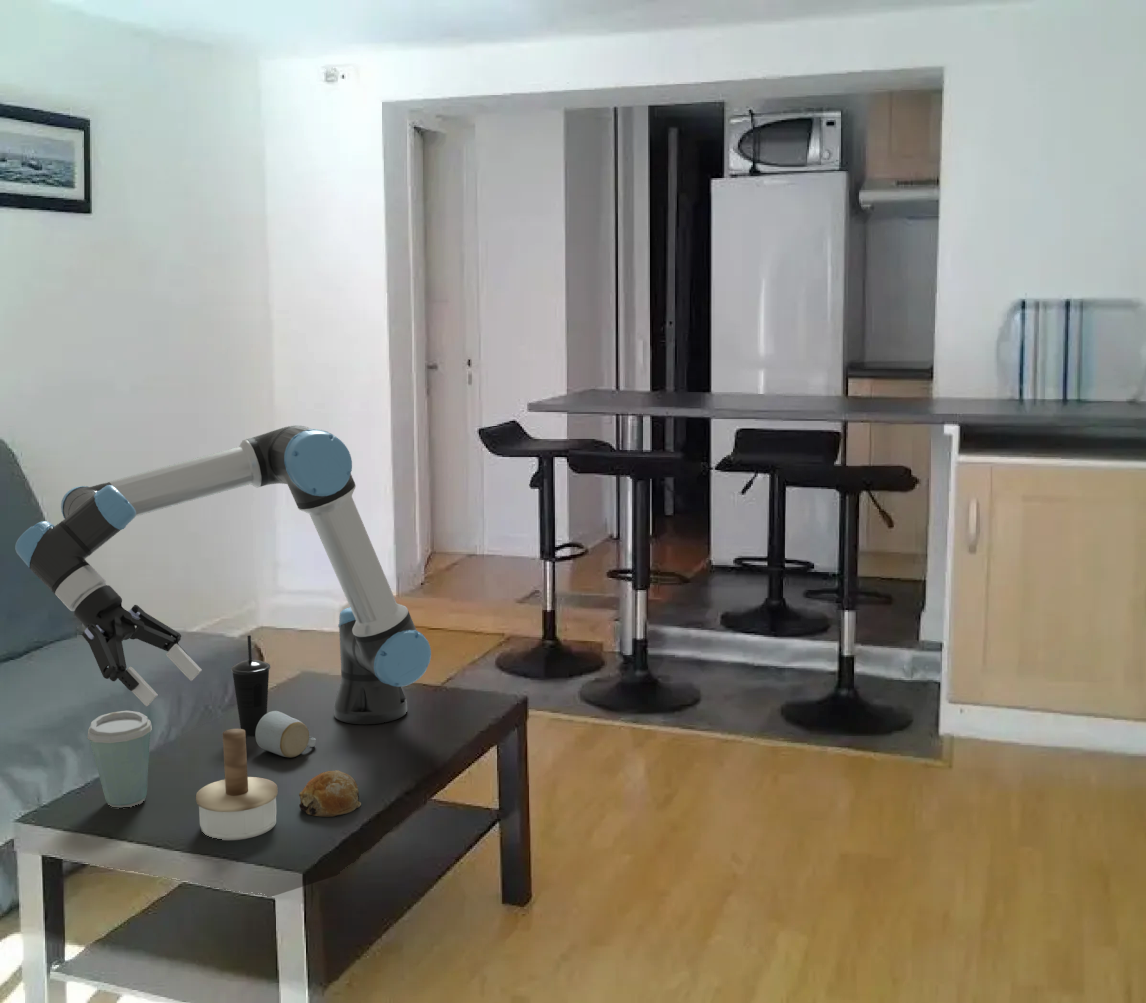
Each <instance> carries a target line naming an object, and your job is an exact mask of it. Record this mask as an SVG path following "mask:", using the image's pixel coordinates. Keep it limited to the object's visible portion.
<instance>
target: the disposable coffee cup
mask: <svg viewBox="0 0 1146 1003" xmlns="http://www.w3.org/2000/svg"><path fill="white" fill-rule="evenodd" d="M152 727H153V726H152V722H151V720H150V719H149V717H148V716H146V715H145V714H143V713H142V712H139V711H134V710H133V711H132V710H121V711H120V710H119V711H114V712H108V713H105V714H101V715H99V716H98V717H96V718H94V719H93V720H92V721H91V722H90V726H89V728H88V732H87V738H86V739H88V740H89V743H90V746H91V750H92V751H91V752H92V755H93V758H94V762H95V765H96V770H97V773H98V777H99V781H100V784H101V787H102V792H103V795H104V799H105V803H107V806H108V805H110V806H112V807H130V808H133V807H132V806H134V807H136V806H135V805H137V806H139V805H141V804H142V803H144V802H145V801H146V797H147V793H148V792H147V791H148V776H149V775H148V774H149V760H150V746H151V745H150V742H151V732H152V729H153V728H152ZM143 801H144V802H143ZM138 804H139V805H138ZM110 806H109V807H110ZM112 807H111V808H112Z"/></svg>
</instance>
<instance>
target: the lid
mask: <svg viewBox="0 0 1146 1003" xmlns="http://www.w3.org/2000/svg"><path fill="white" fill-rule="evenodd" d="M246 737H247V736H246V735H245V730H243V729H241V728H230V729H226V730H223V732H222V744H223V745H222V746H223V747H222V748H223V767H224V779H220V780H217V781H214V782H211V783H208V784H206V785H205V786H203V787H201V788H200V789H199V790H198V791H197V792H196V795H195V802H196V804H197V806H198V807H199V806H200V807H202V808H204V809H207V810H210V811H217V812H235V811H244V810H249V809H253V808H257V807H260V806H263V805H265V804H267V803H269V802H271V801H272V800H273V799H274V798H276V799H277V796H278V794H279V793H278V792H279V791H278V790H279V789H278V785H277V783H276V782H274V781H272V780H271V779H268V778H262V777H258V776H257V777H256V776H248V760H247V759H248V757H247V744H246V743H247V738H246Z"/></svg>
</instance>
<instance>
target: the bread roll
mask: <svg viewBox="0 0 1146 1003" xmlns="http://www.w3.org/2000/svg"><path fill="white" fill-rule="evenodd" d="M359 792H360V791H359V787H358V784H357V782H356V780H355V779H354V777H352V775H350V774H348V773H346V772H343V771H341V770H338V769H336V770H328V771H327V770H326V771H324V772H320V773H319V774H317V775H315V776H314V777H312V778H311V779H310V780H309V781H308V782H307V783H306V785H305V786H304V788H303V789H302V790H301V791H300V792H299V793H298V796H299V798H300V804H299V809H300V810H301V811H304V812H305V813H306V814H307V815H310V816H311V817H312V816H314V817H322V818H323V817H324V818H325V817H329V818H330V817H331V818H333V817H334V818H335V817H337V816H341V815H346V814H349V813H353V812H354V811H355V810H356V809H359V808H360V807H361V805H362V802H360V801H359V800H360V795H359Z"/></svg>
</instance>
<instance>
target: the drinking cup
mask: <svg viewBox="0 0 1146 1003" xmlns="http://www.w3.org/2000/svg"><path fill="white" fill-rule="evenodd" d="M252 651H253V650H252V636H251V635H247V652H248V653H247V654H248V657H247V658H248V659H247V660H242V661H240V662H238V663H237V664H234V665H233V666H231V668H230V672H231V673H232V678H233V684H234V692H235V698H236V704H237V712H238V720H239V726H240V729H243V730H245V735H246V737H255V732H256V727H257V725H258V723H259V721H260V719H261V718H262V717H263V716H264V715H265V714H267V713H268V698H269V678H270V677H269V675H270V670H271V664H270V663H269V662H266V661H262V660H259V659H253V653H252Z"/></svg>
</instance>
